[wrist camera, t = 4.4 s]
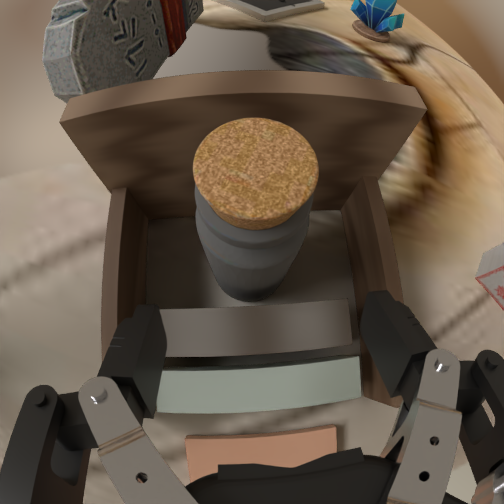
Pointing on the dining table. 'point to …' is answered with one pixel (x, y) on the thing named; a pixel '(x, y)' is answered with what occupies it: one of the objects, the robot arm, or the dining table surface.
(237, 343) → the charcoal offcut
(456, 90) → the dining table surface
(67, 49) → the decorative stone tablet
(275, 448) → the terracotta pad
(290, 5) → the picture frame
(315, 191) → the walnut rack
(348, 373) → the sage offcut
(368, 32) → the gemstone
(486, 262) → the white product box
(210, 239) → the bottle
